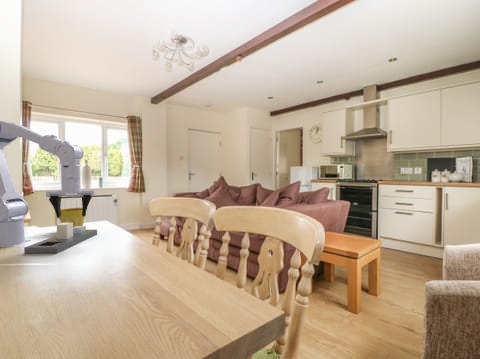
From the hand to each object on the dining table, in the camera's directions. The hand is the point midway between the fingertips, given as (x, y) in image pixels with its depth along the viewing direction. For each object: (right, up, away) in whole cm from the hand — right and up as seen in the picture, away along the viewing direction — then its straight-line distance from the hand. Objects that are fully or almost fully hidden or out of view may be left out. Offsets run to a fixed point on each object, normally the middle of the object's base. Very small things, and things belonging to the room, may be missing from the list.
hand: (71, 216), depth 93 cm
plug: (-2, -10, 0) cm, 10 cm away
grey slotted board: (-2, -10, 0) cm, 10 cm away
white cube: (-3, -9, +8) cm, 13 cm away
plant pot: (-12, -10, +19) cm, 24 cm away
